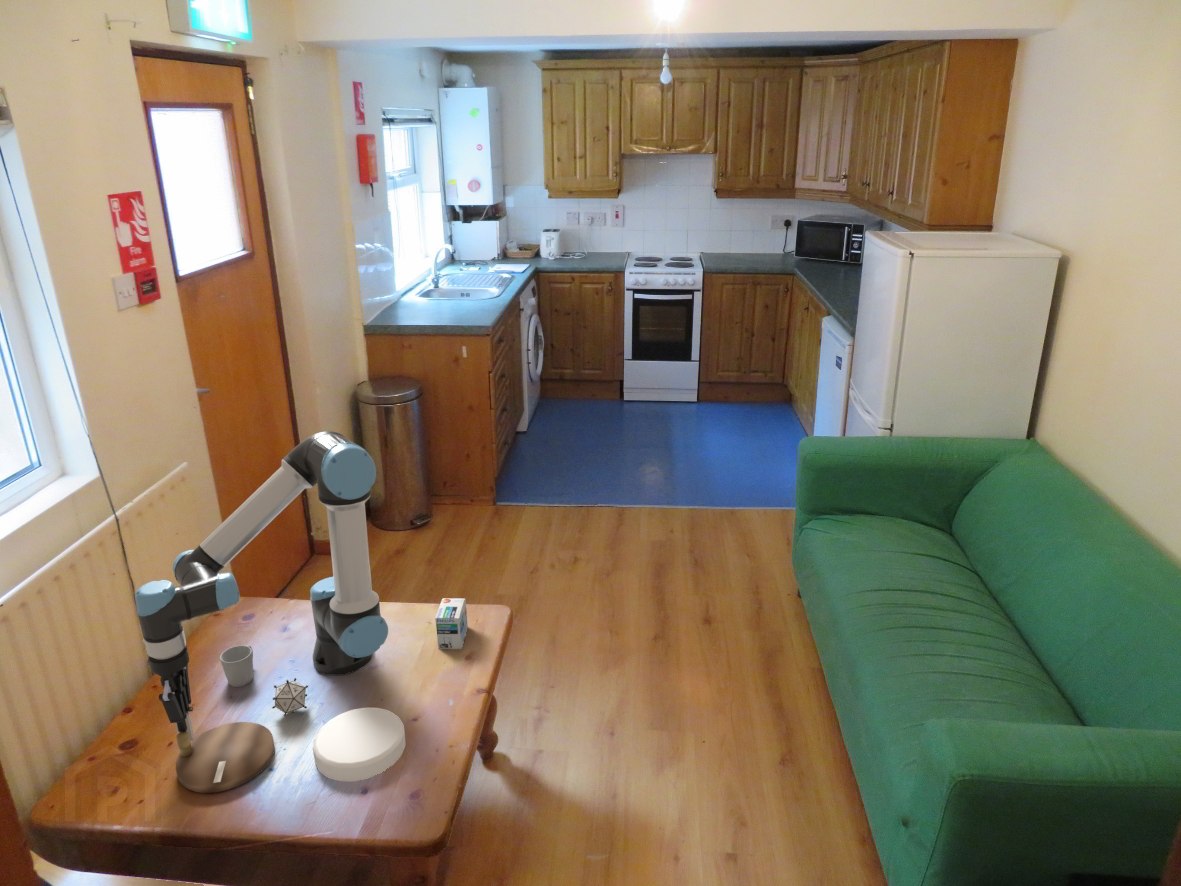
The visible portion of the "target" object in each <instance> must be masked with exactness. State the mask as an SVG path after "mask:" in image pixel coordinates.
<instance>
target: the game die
mask: <svg viewBox="0 0 1181 886" xmlns="http://www.w3.org/2000/svg"><path fill="white" fill-rule="evenodd" d="M285 681H286V683H283V684H281V685H279V686H277V685H275V684H274V685H273V688H274V689H275V696H274V697H272V700H273V701H274V705H272V707H271V709H273V710H274V709H275V708H276V709H278V710H280V711H281V712H282V713H283V716H284V718H285V717H286V716H287V714H289V713H291V714H294V713H295V711H298V710H300V709H302V708H304V709H308V706H306V704H305V703H306V697H307V696H308V694H307V693H306V692H307V691H306V689H307V688H308V687H309V685H305V686H304V685H302V684H300V682H297V678H296V677H294V679H293V680H292V681H289V679H286V680H285Z"/></svg>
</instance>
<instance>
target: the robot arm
mask: <svg viewBox="0 0 1181 886" xmlns="http://www.w3.org/2000/svg"><path fill="white" fill-rule="evenodd" d="M376 478H377V467H376V464H375V461H374V459H373V458H372V456H371V455H370V454H369V452H368V451H367V450H366V449H364V447H362V446H360V444H357V443H355V442H354V441H352V440H350V439H349V438H347V437H346V436H345V435H344V434H342V433H340V432H337V431H333V430H326V431H319V432H316V433H313V434H312V435H310V436H308V437H307V438H305V439H304V440H302V441H301V442H299V444H297V445H296V446H295V447H293V448H292V450H291V451H289V452H288V453H287V455H285V456H284V457H283V458H282V459H281V466H280V467H279V468H278V469H277V470H276V471H275V472H274V473H272V475H271V476H270V477H269V478H268V479H267V480H266V481H265V482H263V483H262V485H261V486H259V487H258V488H257V489H256V490H255V491H254V492H253V493H252V494H251V495H249V497H248V498H247V499H246V500H245V501H244V502H242V504H241V505H239V507H238V508H237V509H235V510H234V511H233V512H232V513H231V514H230V515H229V516H228V517H227V518H226V519H225V520H224V521H222V523H221V524H220V525H218V527H216V529H215V530H213V531H212V532H211V533H210V534H209V536H207V537H206V538H205V539H204V540H203V541H202V542H201V543H200V544H199V545H198V546H197V547H196V548H195V549H189V550H185V551H183V552H180V553H179V554H178V555H177V556H176V557H175V559H174V560H173V563H172V572H173V575H174V578H175V580H176V582H177V583H178V584H179V585H178V586H174V583H173V582H171V581H170V580H167V579H161V580H152V581H149V582H147V583H144V584H143V585H141V586H140V587H139V588H137V590H136V591H135V594H134V600H135V605H136V606H135V607H136V613H137V617H138V621H139V624H140V629H141V632H142V637H143V638H142V643H143V644H145V649H146V653H147V656H148V657H147V659H148V663H149V666H150V667H149V668H150V670H151V672H152V673H153V674H155V675H157V676H160V685H161V686H162V688H163V692H162V693H159V695H158V699H159V701H160V702H161V703H162V705H163V708H164V710H165V713H166V715H167V718H168V721H169V722H170V724H174V723H175V727H176V731H177V734H179V733H180V732H184V731H186V732H188V734H189V739H190V742H191V741H193V739H195V733H194V729H193V725H192V719H191V715H190V712H193V711H194V706H190V705H191V704H192V697H191V687H190V680H189V665H188V664H189V662H190V656H189V651H188V646H187V640H186V635H185V631H184V627H183V622H186V621H189V620H193V619H196V618H199V617H202V616H206V615H209V614H212V613H217V612H220V611H224V609H225V610H226V609H227V608H230V607H233V606H235V605H237V604H238V603H239V601H240V597H241V596H240V590H239V587H238V586H239V585H238V583H237V579H236V578H235V576H234V573H232V572H228V571H226V572H222V573H221V571H222V570H223V569H224V568H225V567H226V566H227V565H228V564H229V563H230V562H231V561H232V560H233V559H234V558H235V557H236V556H237V555H239V553H241V551H242V550H243V549H245V547H247V545H249V543H251V542H252V540H254V539H255V538H256V537H257V536H258V535H259V534H260V533H261V532H262V531H263V530H264V529H265V528H266V527H267V526H268V525H269V524H270V523H271V522H272V521H273V520H274V519H275V518H276V517H277V516H278V515H280V514H281V513H282V512H283V511H284V510H285V509H286V508H287V507H288V506H289V505H290V504H291V503H292V502H293V501H294V500H295V499H296V498H297V497H299V495H300V494H301V493H303V491H304V490H305V489H312V488H314V487H315V485H316V484H317V493H318V494H317V495H318V502H319V503H320V504H322V505H323V506H325V507H326V516H327V524H328V525H327V526H328V527H327V528H328V533H329V534H328V536H329V545H330V546H329V547H330V555H331V565H332V576H329V577H326V578H323V579H321V580H319V581H317V582H315V584H313V585H312V586H311V588H310V590H309V593H310V597H309V600H310V604H311V609H312V616H313V622H314V629H315V635H316V640H315V642H314V649H313V652H312V662H313V667H314V670H316V671H317V672H319V673H320V674H322V675H328V676H341V675H342V676H343V675H348V674H351V673H355V672H357V671H358V670H360V669H362V668H363V667H365V666H367V664H368V663H370V661H371V660H372V657H373V654H374V653H376V652H378V650H380V648H381V646H382V645H384V644H385V642H386V640H387V638H388V635H389V626H388V623H387V621H386V619H385V618H384V617H382V615H381V607H380V597H379V594H378V593H377V592H376V591H374V590H373V589H372V587H373V586H372V575H371V574H372V573H371V563H370V552H369V551H370V550H369V539H368V527H367V515H366V505H365V504H366V503H367V501H368V500H369V499H370V497H372V496H371V488H372V486H373V485H374V483H375V482H376Z"/></svg>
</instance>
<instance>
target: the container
mask: <svg viewBox="0 0 1181 886" xmlns="http://www.w3.org/2000/svg"><path fill="white" fill-rule="evenodd" d="M312 744H313V746H312V751H313V752H312V753H313V759H314V763H315V765H316V767H317V770H318V772H320V773H321V774H322V775H323V776H325V777H326V778H328V779H331V780H334V781H337V782H351V783H352V782H358V781H363V780H368V778H369V779H371V778H373V777H375V775H376V776H378V775H381V774H382V772H383V771H384V772H386V771H387V770H388V769H389V767H390V766H391V767H392V766H394V765H395V764H396V762H398V760H400V758H401V757H402V755H403V753H404V750H405V747H406V734H405V724H404V723H403V721H402V720H401V718H400V716H398V715H397V714H396V713H393V712H392V711H391V710H387V709H385V708H380V707H360V708H356V709H355V708H353V709H350V710H348V711H345V712H342V713H340V714H338V715H336V716H335V717H333V718H331V719H329V720H328V721H327V722H326V723H325V724H324V725H323V726H322V727H321V728H320V729H319V730H318V732H317V734H316V735H315V738H314V739H313V743H312ZM391 767H390V768H391ZM387 768H388V769H387ZM386 769H387V770H386ZM384 772H383V773H384ZM377 774H378V775H377ZM372 776H373V777H372ZM370 777H371V778H370Z"/></svg>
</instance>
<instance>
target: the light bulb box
mask: <svg viewBox="0 0 1181 886" xmlns="http://www.w3.org/2000/svg"><path fill="white" fill-rule="evenodd" d="M434 618H435V629H436V638H437V649H438V650H462V649H463V648H462V647H464V645H463V644H464V643H465V641H466V637H465V636H467V633H466V632H468V629H467V628H468V627H469V625H468V612H467V600H466V598H461V597H460V598H458V597H457V598H456V597H455V598H448V597H447V598H446V597H445V598H442V599H441V601H440V604H439V607H438V610H437V611H436V615H435V617H434ZM464 640H465V641H464Z"/></svg>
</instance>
